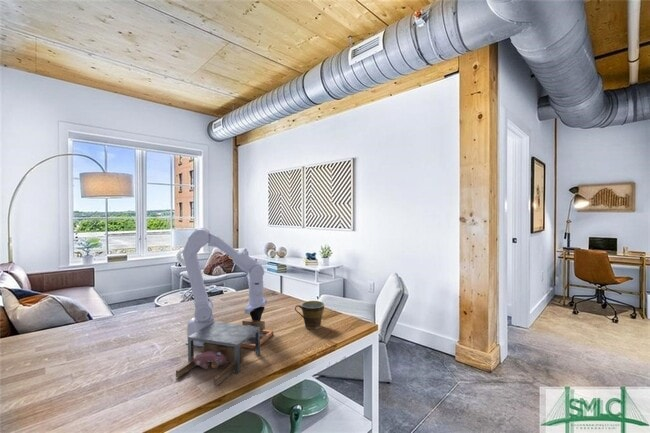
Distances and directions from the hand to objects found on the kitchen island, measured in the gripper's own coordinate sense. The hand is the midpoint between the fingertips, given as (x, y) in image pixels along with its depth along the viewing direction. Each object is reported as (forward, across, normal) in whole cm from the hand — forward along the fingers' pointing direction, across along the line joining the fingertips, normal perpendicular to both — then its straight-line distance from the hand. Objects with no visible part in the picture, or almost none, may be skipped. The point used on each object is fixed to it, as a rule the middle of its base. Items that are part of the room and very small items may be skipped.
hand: (256, 325), depth 125 cm
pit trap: (+4, -5, 0) cm, 6 cm away
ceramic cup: (+4, +14, -18) cm, 23 cm away
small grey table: (+4, -21, 0) cm, 21 cm away
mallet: (+4, -18, 0) cm, 19 cm away
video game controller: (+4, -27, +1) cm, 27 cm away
